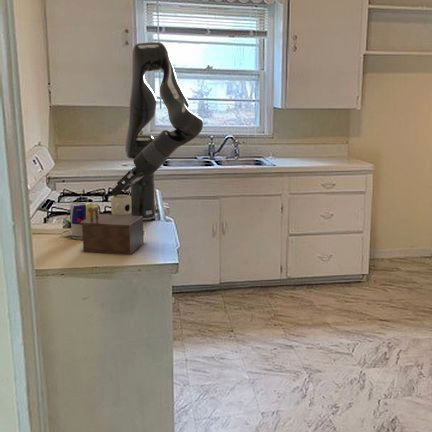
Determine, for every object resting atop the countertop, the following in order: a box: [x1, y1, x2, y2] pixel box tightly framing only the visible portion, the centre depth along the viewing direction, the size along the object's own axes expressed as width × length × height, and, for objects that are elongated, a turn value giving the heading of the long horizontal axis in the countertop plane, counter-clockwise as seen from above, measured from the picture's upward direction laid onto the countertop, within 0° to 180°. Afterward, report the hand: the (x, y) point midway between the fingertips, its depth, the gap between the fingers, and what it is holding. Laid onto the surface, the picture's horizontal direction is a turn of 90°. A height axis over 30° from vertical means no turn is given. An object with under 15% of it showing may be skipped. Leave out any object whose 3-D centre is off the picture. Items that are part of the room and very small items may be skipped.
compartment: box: [82, 219, 145, 255], centre depth 190 cm, size 16×13×9 cm
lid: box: [80, 204, 143, 228], centre depth 188 cm, size 16×13×5 cm
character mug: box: [110, 194, 132, 215], centre depth 209 cm, size 11×7×13 cm, turn 176°
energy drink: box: [69, 202, 87, 240], centre depth 199 cm, size 5×5×12 cm
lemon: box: [86, 202, 100, 218], centre depth 219 cm, size 6×6×8 cm
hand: (118, 191), depth 186 cm, fingers open, 8 cm apart
